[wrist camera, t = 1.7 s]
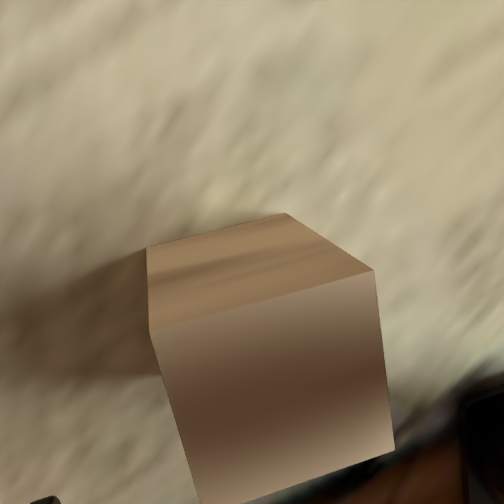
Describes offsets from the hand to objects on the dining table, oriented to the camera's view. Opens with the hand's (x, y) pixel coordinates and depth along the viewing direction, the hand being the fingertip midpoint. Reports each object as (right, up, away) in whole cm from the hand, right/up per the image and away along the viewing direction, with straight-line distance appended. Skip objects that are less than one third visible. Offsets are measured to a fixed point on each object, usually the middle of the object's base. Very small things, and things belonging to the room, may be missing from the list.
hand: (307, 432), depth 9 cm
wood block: (-2, +2, +7) cm, 7 cm away
